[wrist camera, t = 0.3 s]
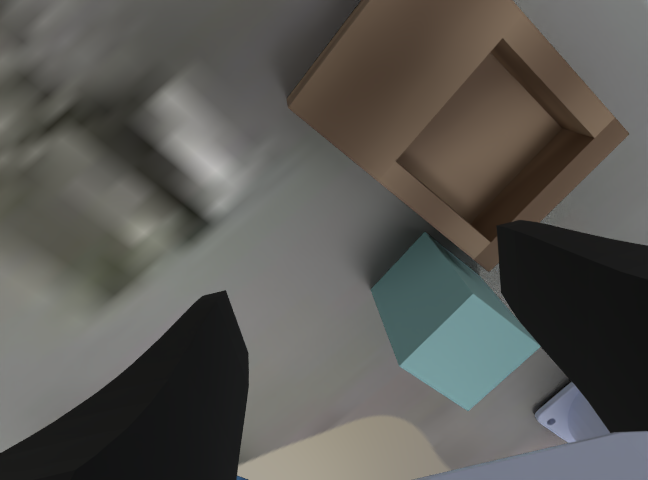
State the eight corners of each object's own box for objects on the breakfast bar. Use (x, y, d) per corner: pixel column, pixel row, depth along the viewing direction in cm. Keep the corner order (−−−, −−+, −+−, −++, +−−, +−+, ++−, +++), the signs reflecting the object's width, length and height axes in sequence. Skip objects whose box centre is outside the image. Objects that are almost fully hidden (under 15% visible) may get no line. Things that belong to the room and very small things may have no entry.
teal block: (478, 275, 23) (540, 346, 18) (425, 328, 24) (467, 411, 19) (424, 231, 22) (473, 293, 16) (370, 289, 23) (399, 366, 18)
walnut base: (582, 122, 20) (629, 133, 18) (463, 244, 22) (489, 272, 20) (410, -65, 17) (436, -87, 14) (286, 98, 19) (288, 107, 16)
